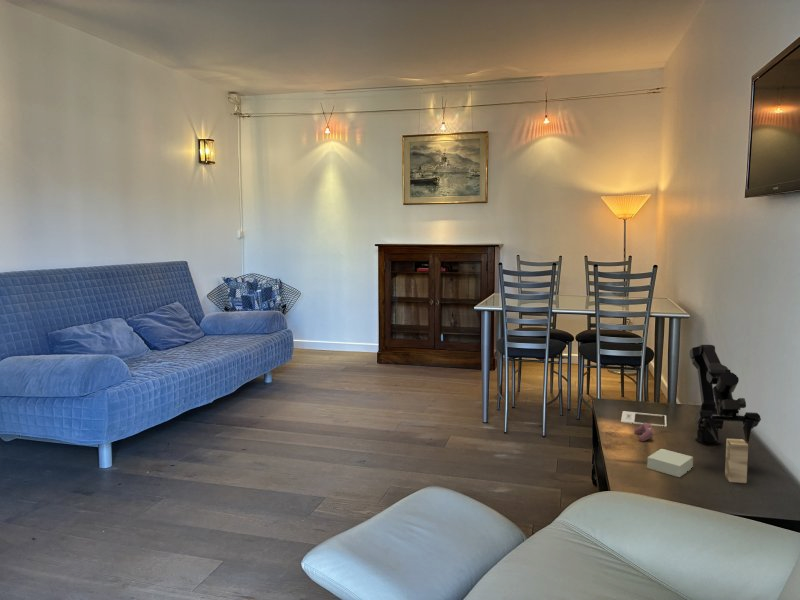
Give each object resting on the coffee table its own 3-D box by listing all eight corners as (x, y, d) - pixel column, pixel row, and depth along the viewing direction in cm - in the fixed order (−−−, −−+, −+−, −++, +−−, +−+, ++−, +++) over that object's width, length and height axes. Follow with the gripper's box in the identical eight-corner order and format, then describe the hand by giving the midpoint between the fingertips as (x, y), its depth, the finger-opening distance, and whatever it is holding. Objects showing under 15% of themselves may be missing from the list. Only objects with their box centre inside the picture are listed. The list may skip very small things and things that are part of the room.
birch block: (724, 475, 193) (726, 438, 191) (741, 476, 191) (743, 439, 190) (729, 481, 188) (731, 444, 186) (746, 483, 187) (748, 445, 185)
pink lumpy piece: (648, 446, 224) (657, 431, 223) (637, 440, 225) (646, 425, 223) (643, 437, 234) (651, 422, 232) (632, 431, 234) (641, 417, 233)
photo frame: (622, 410, 261) (666, 414, 253) (622, 413, 261) (666, 417, 253) (620, 420, 247) (666, 425, 240) (620, 423, 247) (666, 428, 240)
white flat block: (661, 459, 208) (661, 448, 207) (692, 467, 199) (693, 456, 199) (647, 468, 200) (647, 457, 200) (679, 477, 192) (679, 466, 192)
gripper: (699, 387, 198) (707, 429, 189) (760, 390, 194) (771, 432, 184) (693, 403, 207) (700, 443, 197) (751, 405, 202) (761, 447, 193)
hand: (732, 441), depth 193 cm, fingers open, 9 cm apart
